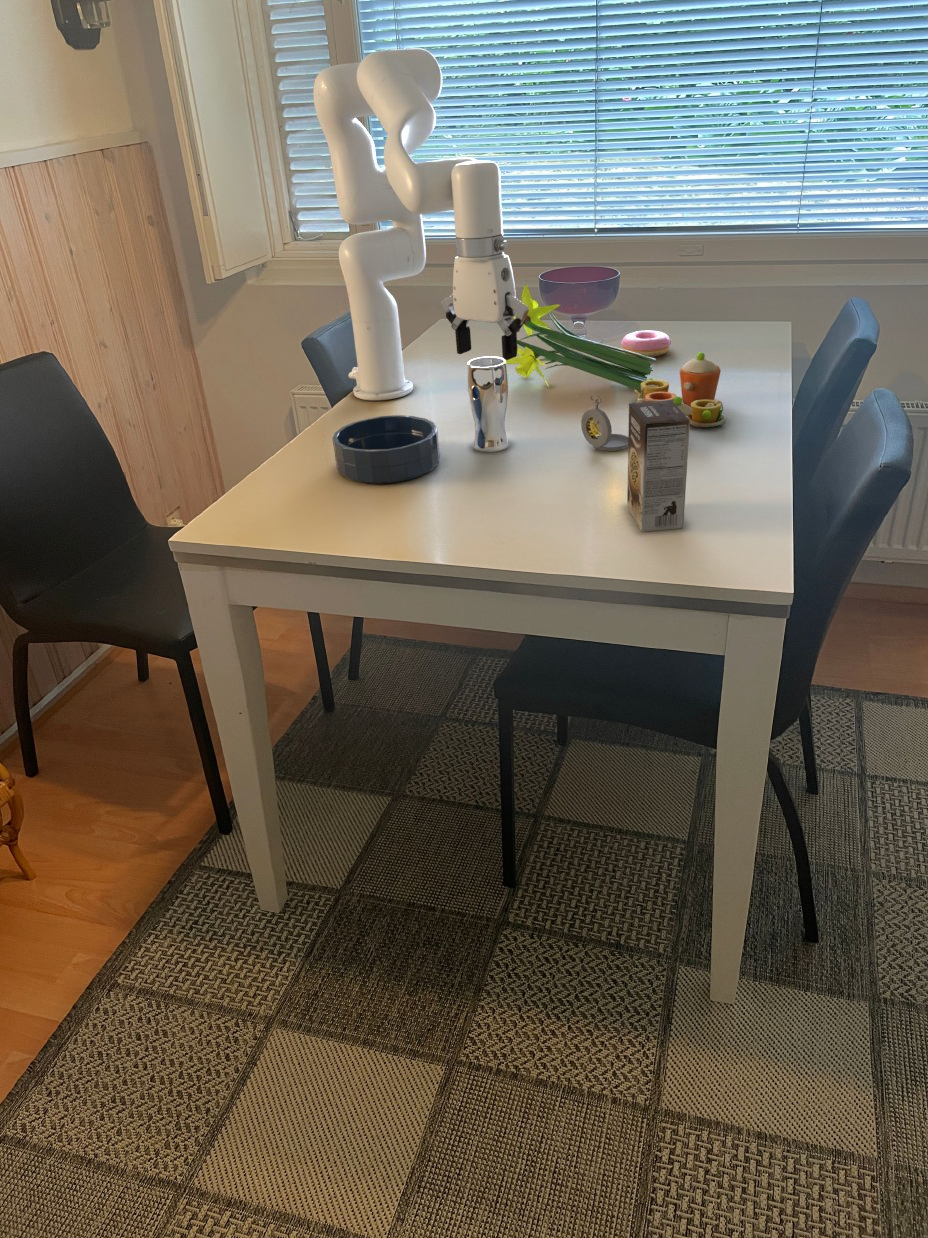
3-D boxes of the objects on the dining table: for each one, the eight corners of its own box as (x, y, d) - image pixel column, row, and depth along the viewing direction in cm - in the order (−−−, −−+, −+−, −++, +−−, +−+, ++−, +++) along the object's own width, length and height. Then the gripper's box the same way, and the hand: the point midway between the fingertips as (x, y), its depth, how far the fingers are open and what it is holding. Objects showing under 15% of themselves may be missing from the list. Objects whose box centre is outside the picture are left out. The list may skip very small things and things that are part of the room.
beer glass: (507, 453, 163) (503, 367, 155) (467, 453, 165) (462, 367, 157) (513, 439, 169) (509, 355, 161) (475, 439, 170) (470, 356, 163)
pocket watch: (633, 440, 164) (634, 383, 159) (624, 457, 158) (625, 399, 153) (587, 437, 167) (587, 382, 162) (576, 454, 160) (576, 397, 155)
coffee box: (625, 507, 141) (627, 401, 132) (667, 502, 141) (672, 397, 133) (640, 533, 133) (643, 422, 125) (685, 528, 133) (691, 418, 125)
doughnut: (615, 358, 209) (615, 339, 207) (627, 345, 217) (628, 326, 215) (664, 360, 205) (665, 341, 203) (675, 346, 213) (675, 328, 211)
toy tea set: (632, 396, 185) (633, 347, 180) (712, 392, 184) (716, 343, 179) (645, 443, 163) (647, 388, 158) (737, 439, 161) (742, 384, 156)
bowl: (316, 473, 161) (311, 439, 158) (385, 441, 173) (382, 409, 170) (392, 493, 151) (387, 458, 148) (460, 458, 163) (457, 424, 160)
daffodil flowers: (631, 408, 182) (468, 351, 190) (636, 423, 196) (485, 370, 204) (665, 325, 180) (499, 271, 188) (668, 346, 194) (514, 296, 203)
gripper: (538, 245, 147) (541, 354, 156) (453, 241, 157) (460, 344, 166) (509, 253, 142) (515, 366, 151) (423, 249, 152) (433, 355, 161)
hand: (486, 354), depth 158 cm, fingers open, 9 cm apart
